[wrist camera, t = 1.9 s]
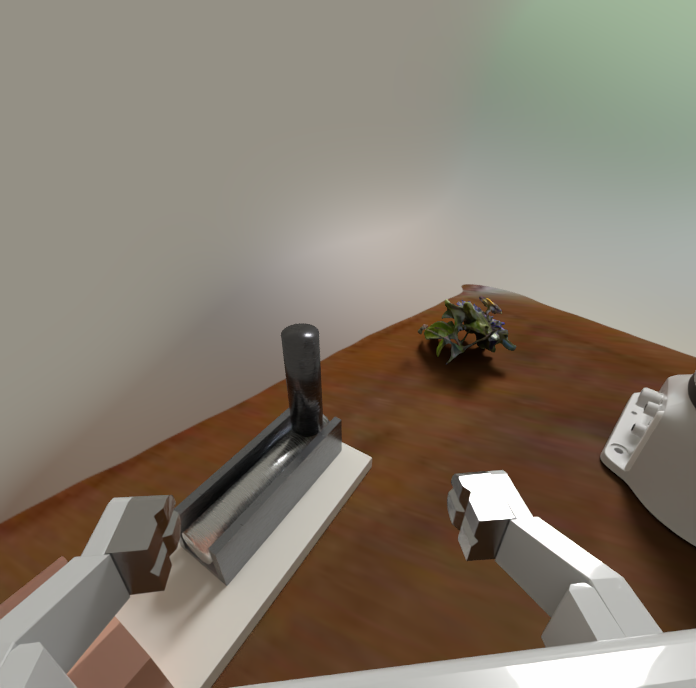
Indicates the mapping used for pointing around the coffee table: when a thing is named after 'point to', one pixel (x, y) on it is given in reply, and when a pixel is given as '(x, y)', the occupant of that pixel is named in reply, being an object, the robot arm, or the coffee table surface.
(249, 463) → the grey guide channel
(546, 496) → the coffee table surface
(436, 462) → the coffee table surface
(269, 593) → the base board
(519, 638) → the coffee table surface
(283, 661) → the coffee table surface
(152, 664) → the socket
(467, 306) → the passion flower
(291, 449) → the slide bolt
